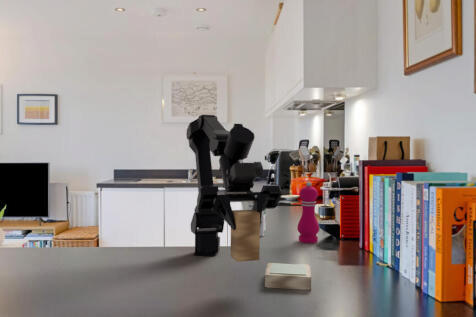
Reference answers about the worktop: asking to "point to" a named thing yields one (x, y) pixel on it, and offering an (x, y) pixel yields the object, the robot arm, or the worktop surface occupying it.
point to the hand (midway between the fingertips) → (247, 228)
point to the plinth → (288, 276)
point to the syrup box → (263, 219)
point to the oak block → (246, 235)
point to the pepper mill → (308, 215)
